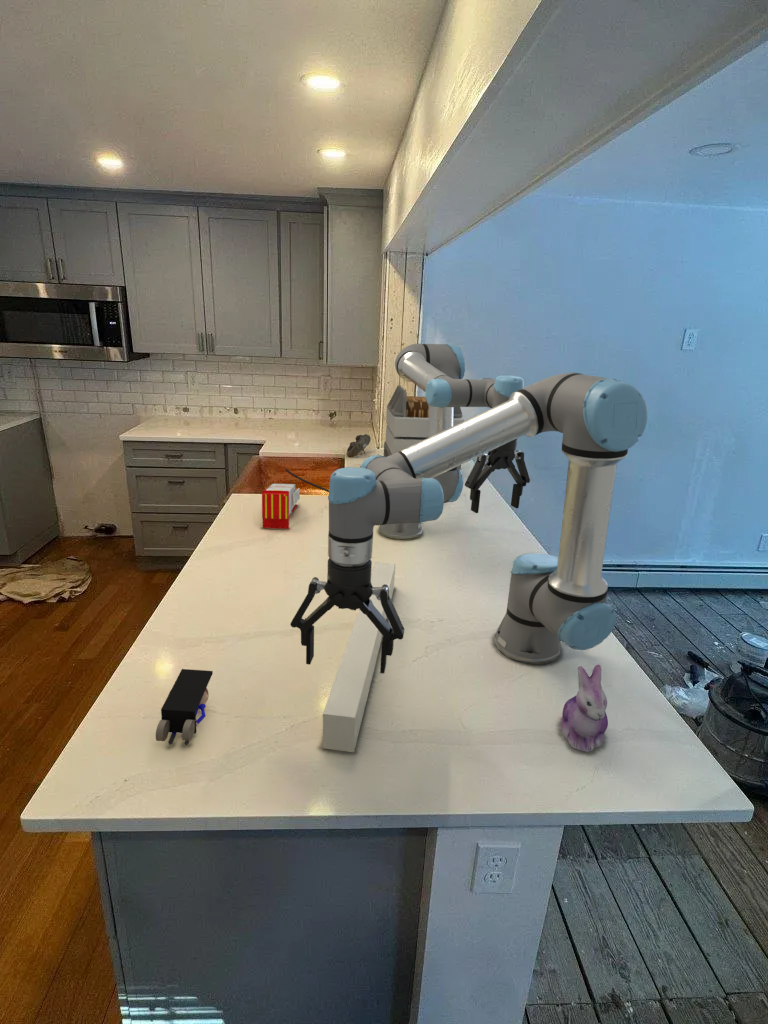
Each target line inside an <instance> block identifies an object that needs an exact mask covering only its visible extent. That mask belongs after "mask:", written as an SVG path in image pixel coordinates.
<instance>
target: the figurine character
mask: <svg viewBox="0 0 768 1024" xmlns="http://www.w3.org/2000/svg"><path fill="white" fill-rule="evenodd" d="M213 673H214V671H213V670H203V669H202V670H201V669H188V668H187V669H186V668H182V669H181V670H180V672H179V674H178V676H177V677H176V680H175V681H174V683H173V686H172V687H171V690H170V691H169V693H168V695H167V697H166V698H165V701H164V703H163V705H162V707H161V709H160V712H161V713H160V715H161V719H160V720H159V721H158V723H157V726H156V729H155V741H157V742H165V741H166V740H167V738H168V737H169V733H170V737H169V739H168V741H167V742H168V745H169V746H170V745H173V743H174V741H175V738H176V737H177V734H181V740H182V741H184V745H185V746H187V745H188V744H190V742H191V741H192V740H193V737H194V735H196V734H197V728H198V725H199V724H200V723H201V722H202V721H203V720H204V719H205V718H206V715H207V714H206V710H205V708H206V707H207V705H206V704H207V702H208V700H209V697H210V696H209V690H208V686H209V683H210V680H211V678H212V676H213ZM199 710H200V713H201V715H200V716H199V717H198V718H197V716H198V713H199Z"/></svg>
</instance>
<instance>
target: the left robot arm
mask: <svg viewBox="0 0 768 1024" xmlns="http://www.w3.org/2000/svg"><path fill="white" fill-rule="evenodd" d="M394 367H395V371H396V372H397V374H398V376H399V377H400V378H401V379H403V381H406V382H408V383H409V382H410V383H412V384H414V385H416V386H417V388H419V389H420V390H422V391H423V392H424V393H425V397H426V400H427V403H428V404H429V426H428V438H429V437H431V436H433V435H436V434H438V433H440V432H442V431H444V430H446V429H448V428H451V427H453V417H454V407H460V408H489V409H492V408H494V407H496V406H498V405H500V404H502V403H504V402H507V401H509V397H510V395H511V394H512V393H514V392H516V391H518V390H520V389H522V388H525V387H524V385H525V380H524V378H522V377H520V376H515V375H498V376H496V378H495V379H494V378H492V377H480V378H479V379H477V378H474V379H473V378H470V379H469V378H468V379H467V378H464V377H465V373H466V358H465V354H464V351H463V350H462V349H461V347H459V345H456V344H448V343H412V344H410V345H407V346H405V347H404V348H403V349H401V350H400V351H399V352H398V354H397V355H396V357H395V360H394ZM517 446H518V438H517V439H515V440H512V441H510V442H508V443H506V444H504V445H502V446H500V447H498V448H495V449H493V450H491V451H489V452H487V453H485V454H483V455H481V456H478V457H476V461H475V463H474V465H473V467H472V469H471V471H470V473H469V474H468V476H467V479H466V481H465V482H464V477H463V473H462V470H461V471H460V470H458V469H457V467H455V468H453V469H451V470H449V471H447V472H444V473H442V474H440V475H438V476H436V477H434V478H433V479H436V480H437V481H438V482H439V483H440V485H441V487H442V490H443V494H444V504H447V503H454V502H456V501H457V500H458V499H459V498H460V497H461V495H462V492H463V488H464V486H465V487H466V488H468V489H470V491H469V492H470V493H469V500H470V501H471V503H470V511H471V512H473V513H474V514H479V510H480V502H481V501H480V500H481V492H482V490H481V489H480V488H481V486H482V485H484V483H485V481H486V480H487V479H488V478H489V476H490V475H491V474H493V473H494V472H495V471H496V470H498V471H499V470H506V469H507V472H509V474H510V475H511V477H512V479H513V480H514V482H515V483H513V484H512V492H511V500H510V506H511V507H513V508H515V509H519V507H520V501H521V500H520V499H521V497H522V495H523V491H524V487H526V486H527V484H530V483H531V479H530V475H529V472H528V469H527V465H526V462H525V452H524V451H522V450H519V449H517ZM514 460H515V463H516V465H515V464H514V462H513V461H514ZM516 467H517V468H516ZM517 469H518V470H517ZM284 471H285V472H287V473H288V474H289V475H291V476H293V477H294V478H296V479H298V480H300V481H301V482H303V483H306V484H308V485H309V486H312V487H314V488H317V489H319V490H322V491H324V492H327V493H329V489H327V488H325V487H322V486H320V485H318V484H315V483H312V482H311V481H308V480H306V479H304V478H302V477H300V476H298V475H296V474H295V473H293V472H292V471H290V470H288V468H286V469H285V470H284ZM378 533H379V534H380V535H381V536H382V537H385V538H387V539H389V540H395V541H410V540H415V539H418V538H420V537H421V536H422V535H423V525H422V522H421V523H403V524H388V525H378Z"/></svg>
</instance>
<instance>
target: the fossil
mask: <svg viewBox="0 0 768 1024" xmlns="http://www.w3.org/2000/svg"><path fill="white" fill-rule="evenodd" d="M354 440H355V441H351V442H350V443H349V446H348V447H347V450H346V456H347V457H348V458H352V457H355V456H357V455H359V454H360V453H361V452H363V453H364V454H366V452H365V449H366V448H367V446H369V445H370V443H371V440H372V439H371V436H370V434H367V433H365V434H358V435H356V436H355V438H354Z"/></svg>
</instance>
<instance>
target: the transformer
mask: <svg viewBox="0 0 768 1024" xmlns="http://www.w3.org/2000/svg"><path fill="white" fill-rule="evenodd" d="M407 394H408V393H407V390H406V389H404V388H403V387H402V385H399V384H398V385H397V386H396V388H395V390H394V392H393V394H392V395H391V398H390V400H389V402H388V404H387V405H386V413H385V414H386V415H385V423H386V428H385V438H384V442H383V456H385V457H387V456H390V455H392V454H394V453H397V452H399V451H401V450H403V449H405V448H408V447H410V446H412V445H414V444H416V443H418V442H420V441H423V440H425V439H427V438H428V426H429V404H428V403H427V400H426V396H415V395H414V396H413V395H412V396H411V395H407ZM464 421H466V420H465V419H464V418H463V411H462V407H454V417H453V426H455V425H457V424H459V423H461V422H464ZM457 469H458V470H460V471H461V472H462V464H461V465H459V466H457Z"/></svg>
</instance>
